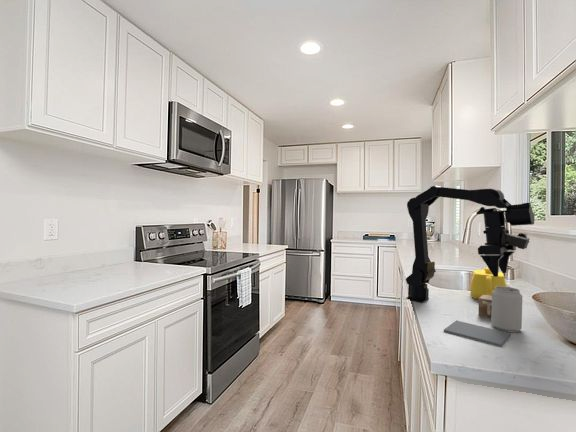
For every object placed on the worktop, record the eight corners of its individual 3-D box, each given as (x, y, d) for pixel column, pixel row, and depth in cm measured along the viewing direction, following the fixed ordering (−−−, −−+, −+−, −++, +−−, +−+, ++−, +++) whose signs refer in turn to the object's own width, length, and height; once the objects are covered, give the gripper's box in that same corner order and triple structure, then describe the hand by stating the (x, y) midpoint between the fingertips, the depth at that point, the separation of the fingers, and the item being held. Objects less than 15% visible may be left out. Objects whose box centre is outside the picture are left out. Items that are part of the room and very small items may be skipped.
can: (526, 334, 91) (528, 292, 90) (497, 331, 92) (498, 290, 92) (513, 324, 98) (515, 286, 98) (486, 322, 99) (487, 284, 99)
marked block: (478, 316, 106) (478, 298, 106) (483, 311, 111) (483, 294, 110) (499, 320, 102) (499, 301, 102) (503, 316, 106) (504, 298, 106)
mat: (443, 331, 92) (443, 329, 92) (456, 322, 99) (456, 320, 99) (501, 346, 82) (501, 344, 82) (510, 335, 90) (510, 333, 90)
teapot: (470, 289, 142) (471, 263, 142) (504, 293, 136) (504, 265, 136) (469, 300, 125) (470, 270, 125) (508, 305, 119) (508, 273, 118)
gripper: (517, 225, 93) (523, 280, 92) (531, 224, 105) (537, 272, 104) (474, 228, 101) (480, 278, 100) (493, 226, 113) (497, 270, 112)
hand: (500, 274), depth 104 cm, fingers open, 9 cm apart
